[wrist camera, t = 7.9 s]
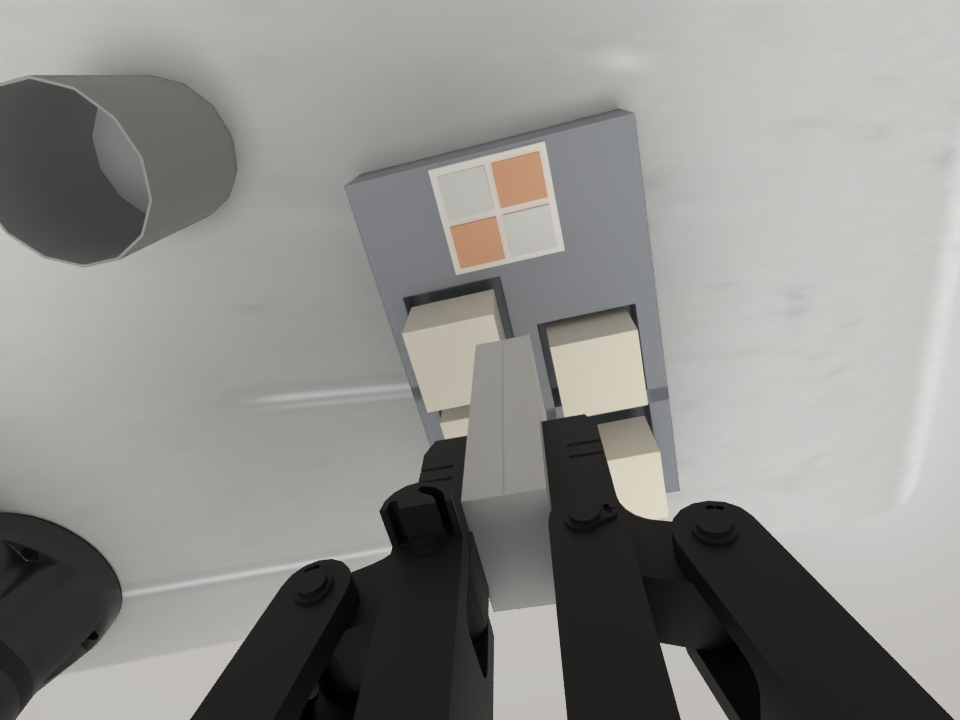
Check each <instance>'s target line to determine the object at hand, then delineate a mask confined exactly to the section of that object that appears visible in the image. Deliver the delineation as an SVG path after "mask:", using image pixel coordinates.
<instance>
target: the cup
mask: <svg viewBox="0 0 960 720" xmlns="http://www.w3.org/2000/svg"><path fill="white" fill-rule="evenodd" d="M236 173H237V164H236V157H235V151H234V145H233V139H232V136H231V134H230V132H229V131H228V129H227V128H226V126H225V124H224V123H223V121H222V119H221V118H220V116H219V114H218V113H217V111H216V109H215V108H214V106H213V105H211V104H210V103H209V102H208V101H206V100H205V99H204V98H202V97H201V96H200V95H199V94H197V93H196V92H195V91H193V90H192V89H191V88H189V87H188V86H187V85H186V84H183V83H179V82H175V81H171V80H168V79H164V78H160V77H156V76H143V75H28V76H24V77H21V78H17V79H13V80H9V81H5V82H2V83H0V226H1V228H2V229H3V230H4V231H5V233H6V234H8V235H9V236H11V237H12V238H14V239H15V240H17V241H18V242H20V243H22V244H23V245H25V246H26V247H28V248H29V249H31V250H32V251H34V252H35V253H37V254H39V255H40V256H42V257H43V258H45V259H50V260H54V261H59V262H63V263H67V264H72V265H76V266H80V267H88V266H93V265H97V264H102V263H106V262H111V261H116V260H120V259H122V258H124V257H126V256H128V255H130V254H132V253H134V252H136V251H138V250H140V249H142V248H144V247H146V246H148V245H150V244H152V243H154V242H156V241H158V240H161V239H163V238H165V237H167V236H169V235H171V234H173V233H175V232H177V231H179V230H181V229H183V228H185V227H187V226H189V225H191V224H193V223H195V222H197V221H199V220H202V219H204V218H206V217H208V216H210V215H211V214H212V213H213V212H214V211H215V210H216V209H217V208H218V207H219V206H220V205H221V204H222V203H223V202H225V201H226V200H227V199H228V198H229V196H230V192H231V189H232V186H233V183H234V179H235V176H236Z"/></svg>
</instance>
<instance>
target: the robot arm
mask: <svg viewBox="0 0 960 720" xmlns="http://www.w3.org/2000/svg"><path fill="white" fill-rule="evenodd" d="M421 472H422V473H421V474H420V478H419V483H415V484H412V485H408V486H406V487H404V488H402V489H400V490H398V491H397V492H395V493H393V494H392V495H391V496H390V497H389V498H388V499H387V500H386V501H385V502H384V504H383V506H382V508H381V509H380V511H379V512H380V514H381V517H382V520H383V522H384V525H385V528H386V530H387V533H388V536H389V538H390V541H391V544H392V546H393V547H392V551H391V554H390V555H389V556H387V557H386V558H384V559H382V560H380V561H378V562H376V563H374V564H372V565H369V566H367V567H364V568H362V569H359V570H357V571H354V572H352V573H351V571H350V569H349V568H348V567H347V566H346V565H345V564H344V563H343V562H341V561H337V560H333V559H329V560H320V561H317V562H314V563H312V564H309V565H307V566H304V567H303V568H301V569H300V570H299V571H297V572H296V573H294V574H293V575H292V576H291V577H290V578H289V579H288V580H287V581H286V582H285V583H284V584H283V586H282V587H281V588H280V590H279V591H278V593H277V594H276V596H275V597H274V599H273V600H272V601H271V603H270V604H269V606H268V607H267V609H266V610H265V612H264V613H263V615H262V616H261V617H260V619H259V620H258V622H257V623H256V625H255V626H254V628H253V629H252V631H251V632H250V633H249V635H248V636H247V638H246V639H245V641H244V642H243V644H242V645H241V647H240V648H239V649H238V651H237V653H236V654H235V655H234V657H233V658H232V660H231V661H230V663H229V664H228V665H227V667H226V669H225V670H224V671H223V673H222V674H221V676H220V677H219V679H218V680H217V681H216V683H215V684H214V686H213V687H212V689H211V690H210V692H209V693H208V695H207V696H206V697H205V699H204V700H203V702H202V703H201V705H200V706H199V708H198V709H197V711H196V712H195V713H194V715H193V716H192V718H191V719H190V720H493V668H494V667H493V666H494V663H493V662H494V635H493V631H492V626H491V623H490V620H489V616H488V603H489V602H488V601H489V598H490V601H491V605H492V608H493V611H494V612H496V611H505V610H512V609H520V608H527V607H535V606H542V605H549V604H556V607H557V618H558V628H559V638H560V647H561V658H562V668H563V679H564V688H565V699H566V709H567V719H568V720H681V719H680V715H679V712H678V708H677V705H676V701H675V697H674V694H673V690H672V686H671V683H670V679H669V676H668V672H667V668H666V665H665V661H664V657H663V653H662V650H661V646H660V643H665V644H671V645H677V646H682V647H686V650H687V652H688V654H689V656H690V658H691V659H692V661H693V662H694V664H695V666H696V667H697V669H698V671H699V672H700V674H701V675H702V677H703V678H704V680H705V682H706V683H707V685H708V687H709V688H710V690H711V691H712V693H713V695H714V696H715V698H716V700H717V701H718V703H719V704H720V706H721V708H722V709H723V711H724V712H725V714H726V716H727V717H728V719H729V720H954V719H953V718H952V717H951V716H950V715H949V714H948V713H947V712H946V711H945V710H944V709H943V708H942V707H941V706H940V705H939V704H938V703H937V702H936V701H935V700H934V699H933V698H932V697H931V696H930V695H929V694H928V693H927V692H926V691H925V690H924V689H923V688H922V687H921V686H920V685H919V684H918V683H917V682H916V681H915V680H914V679H913V678H912V677H911V676H910V675H909V674H908V673H907V671H906V670H904V669H903V668H902V666H900V665H899V663H898V662H897V661H896V660H895V659H894V658H893V657H892V656H891V655H890V654H889V653H888V652H887V651H886V650H885V649H884V648H883V647H882V646H881V645H880V644H879V643H878V642H877V641H876V640H875V639H874V638H873V637H872V636H871V635H870V634H869V633H868V632H867V631H866V630H865V629H864V628H863V627H862V626H861V625H860V624H859V623H858V622H857V621H856V620H855V619H854V618H853V617H852V616H851V615H850V614H849V613H848V612H847V611H846V610H845V609H844V608H843V607H842V606H841V605H840V604H839V603H838V602H837V601H836V600H835V599H834V598H833V597H832V596H831V595H830V594H829V593H828V592H827V591H826V590H825V589H824V588H823V587H822V586H821V585H820V584H819V583H818V582H817V581H816V579H815V578H814V577H813V576H812V575H811V574H810V573H809V572H807V571H806V569H805V568H804V567H803V566H802V565H801V564H800V563H799V562H797V560H796V559H795V558H794V557H793V556H792V555H791V554H790V553H789V552H788V551H787V550H786V549H785V548H784V547H783V546H782V545H781V544H780V543H779V542H778V541H777V540H776V539H775V538H774V537H773V536H772V535H771V534H770V533H769V532H768V531H767V530H766V529H765V528H764V527H763V526H762V525H761V524H760V523H759V522H758V521H757V520H756V519H755V518H754V517H753V516H752V515H751V514H749V513H748V512H746V511H745V510H743V509H742V508H741V507H738V506H735V505H732V504H729V503H726V502H717V501H705V502H699V503H693V504H691V505H689V506H687V507H685V508H683V509H682V510H680V511H679V513H678V514H677V515H676V516H675V517H674V519H673V522H669V521H658V520H652V519H646V518H643V517H640V516H638V515H635V514H633V513H631V512H630V511H628V510H627V509H625V508H624V507H623V505H622V504H621V503H620V502H619V500H618V498H617V496H616V492H615V488H614V485H613V481H612V477H611V474H610V470H609V466H608V463H607V459H606V455H605V452H604V448H603V444H602V441H601V437H600V433H599V430H598V426H597V424H596V423H595V422H593V421H592V420H591V419H590V418H589V417H588V416H586V415H585V414H582V415H576V416H570V417H564V418H558V419H553V420H547V417H546V412H545V408H544V403H543V398H542V393H541V388H540V383H539V378H538V373H537V368H536V363H535V358H534V353H533V348H532V343H531V339H530V335H526V336H521V337H516V338H510V339H505V340H500V341H494V342H489V343H484V344H479V345H476V348H475V359H474V369H473V380H472V391H471V401H470V412H469V422H468V433H467V436H462V437H456V438H450V439H444V440H439V441H435V442H434V443H433V445H432V446H431V447H430V449H429V450H428V451H427V452H426V454H425V455H424V459H423V464H422V469H421ZM120 606H121V592H120V587H119V584H118V581H117V579H116V577H115V575H114V573H113V571H112V570H111V568H110V567H109V565H108V564H107V563H106V562H105V560H104V559H103V558H102V557H101V556H100V555H99V554H98V553H97V552H96V551H95V550H94V549H93V548H92V547H90V546H89V545H88V544H87V543H85V542H84V541H83V540H81V539H80V538H78V537H77V536H75V535H73V534H72V533H70V532H68V531H66V530H64V529H62V528H60V527H58V526H56V525H53V524H51V523H48V522H45V521H42V520H39V519H36V518H32V517H27V516H22V515H15V514H0V720H16V718H17V717H18V715H19V714H20V713H21V711H22V710H23V709H24V707H25V706H26V705H27V703H28V702H29V701H30V699H31V698H32V697H33V695H34V694H35V693H36V692H37V691H39V690H40V689H41V688H43V687H44V686H45V685H46V684H48V683H49V682H50V681H51V680H53V679H54V678H55V677H57V676H58V675H59V674H60V673H62V672H63V671H64V670H65V669H67V668H68V667H69V666H70V665H72V664H73V663H74V662H75V661H77V660H78V659H79V658H80V657H82V656H83V655H84V654H86V653H87V652H88V651H89V650H90V649H92V648H93V647H94V646H95V645H96V644H97V643H98V642H99V641H100V640H101V639H102V637H103V636H104V634H105V633H106V632H107V630H108V629H109V627H110V626H111V625H112V623H113V622H114V620H115V619H116V617H117V615H118V613H119V610H120Z"/></svg>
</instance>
